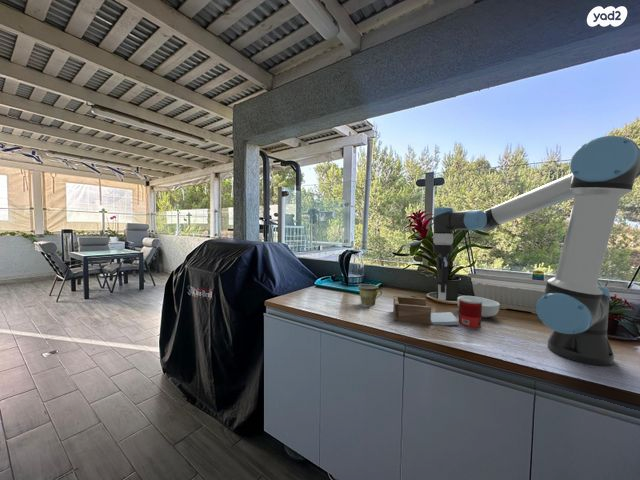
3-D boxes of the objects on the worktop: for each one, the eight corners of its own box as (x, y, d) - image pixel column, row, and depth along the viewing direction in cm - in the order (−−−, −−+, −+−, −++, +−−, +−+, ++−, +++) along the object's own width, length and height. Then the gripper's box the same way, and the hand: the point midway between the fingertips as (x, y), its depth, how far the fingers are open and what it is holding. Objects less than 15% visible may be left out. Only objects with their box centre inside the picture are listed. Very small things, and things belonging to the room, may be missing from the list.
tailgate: (459, 324, 104) (458, 321, 104) (432, 325, 106) (432, 322, 106) (451, 315, 115) (451, 312, 115) (427, 316, 117) (427, 313, 117)
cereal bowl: (482, 324, 109) (483, 307, 109) (448, 312, 125) (449, 297, 124) (507, 318, 116) (508, 303, 116) (472, 308, 132) (473, 294, 131)
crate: (433, 327, 105) (433, 307, 105) (394, 323, 108) (395, 304, 108) (427, 315, 119) (428, 298, 118) (393, 312, 122) (393, 295, 122)
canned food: (484, 330, 102) (485, 303, 102) (462, 328, 104) (463, 301, 103) (476, 323, 110) (477, 297, 109) (456, 321, 111) (457, 296, 111)
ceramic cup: (354, 304, 133) (354, 285, 133) (366, 301, 140) (366, 283, 140) (375, 311, 124) (375, 290, 123) (386, 307, 130) (387, 287, 130)
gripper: (430, 243, 116) (429, 295, 117) (436, 244, 104) (435, 302, 104) (448, 243, 115) (447, 296, 115) (456, 244, 102) (455, 304, 103)
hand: (442, 299), depth 110 cm, fingers closed
